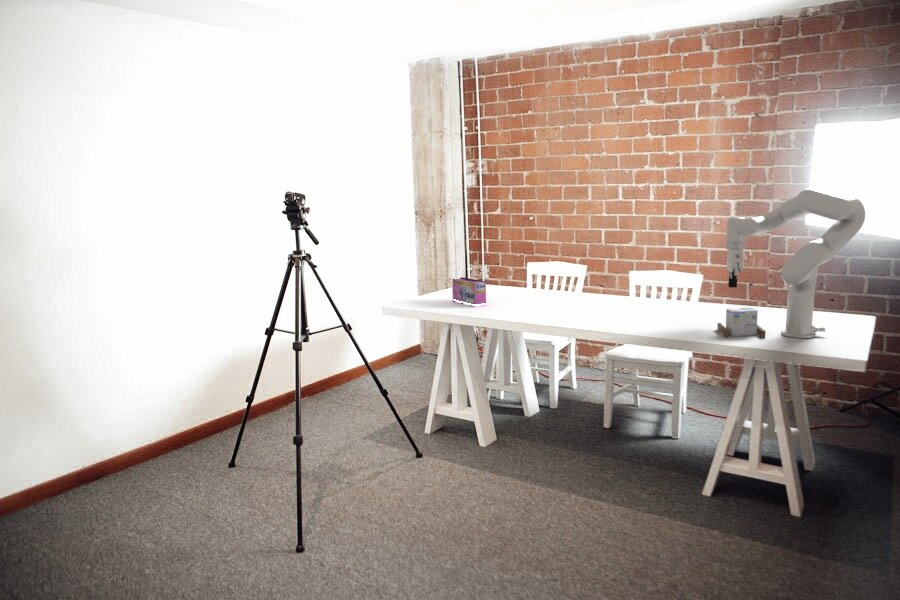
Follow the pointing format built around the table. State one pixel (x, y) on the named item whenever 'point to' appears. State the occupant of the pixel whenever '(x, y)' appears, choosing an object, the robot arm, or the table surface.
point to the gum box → (469, 290)
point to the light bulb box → (741, 321)
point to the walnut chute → (725, 332)
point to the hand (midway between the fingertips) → (732, 287)
